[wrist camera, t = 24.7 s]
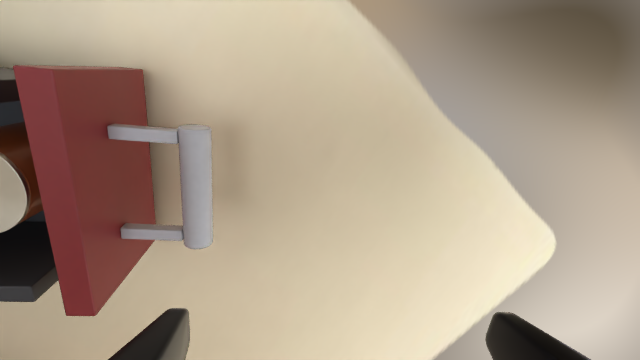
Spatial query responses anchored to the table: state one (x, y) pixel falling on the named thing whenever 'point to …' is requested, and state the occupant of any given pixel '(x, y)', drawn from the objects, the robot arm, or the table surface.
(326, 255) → the table surface
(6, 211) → the brown short cylinder
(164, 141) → the pod drawer
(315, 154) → the table surface
